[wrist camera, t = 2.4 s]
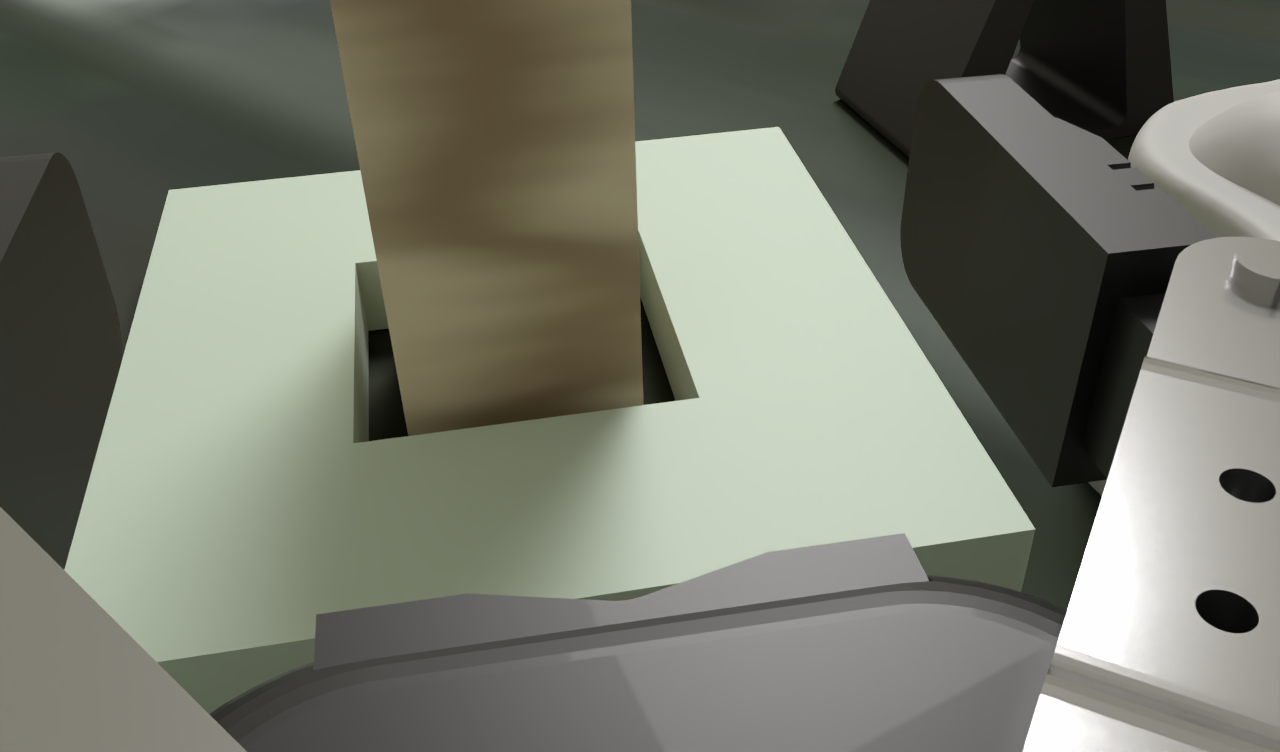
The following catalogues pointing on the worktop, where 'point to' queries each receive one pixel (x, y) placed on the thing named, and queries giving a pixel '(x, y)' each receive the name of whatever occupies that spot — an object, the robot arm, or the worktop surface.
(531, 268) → the birch block
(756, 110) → the worktop surface
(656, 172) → the pocket frame
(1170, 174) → the lumpy-topped squat cylinder
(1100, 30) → the phone stand
